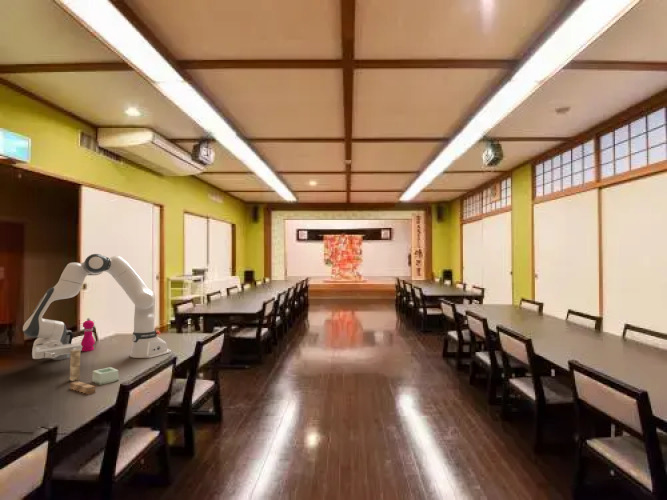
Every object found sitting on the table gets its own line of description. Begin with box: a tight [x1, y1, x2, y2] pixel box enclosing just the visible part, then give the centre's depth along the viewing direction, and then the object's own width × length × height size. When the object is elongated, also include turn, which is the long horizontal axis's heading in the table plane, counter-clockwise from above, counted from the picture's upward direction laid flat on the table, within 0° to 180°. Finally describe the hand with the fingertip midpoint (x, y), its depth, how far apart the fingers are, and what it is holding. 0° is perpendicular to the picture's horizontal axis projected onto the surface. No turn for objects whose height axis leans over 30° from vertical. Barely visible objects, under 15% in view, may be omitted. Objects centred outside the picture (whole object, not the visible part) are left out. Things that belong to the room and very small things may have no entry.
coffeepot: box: [51, 329, 74, 361], centre depth 223 cm, size 15×9×18 cm, turn 67°
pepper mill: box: [80, 317, 96, 352], centre depth 243 cm, size 7×7×20 cm
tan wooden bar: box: [69, 380, 96, 395], centre depth 170 cm, size 14×3×3 cm, turn 61°
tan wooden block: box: [69, 349, 81, 382], centre depth 185 cm, size 3×3×14 cm
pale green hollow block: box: [91, 366, 119, 386], centre depth 184 cm, size 8×8×5 cm
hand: (63, 353), depth 192 cm, fingers open, 8 cm apart
